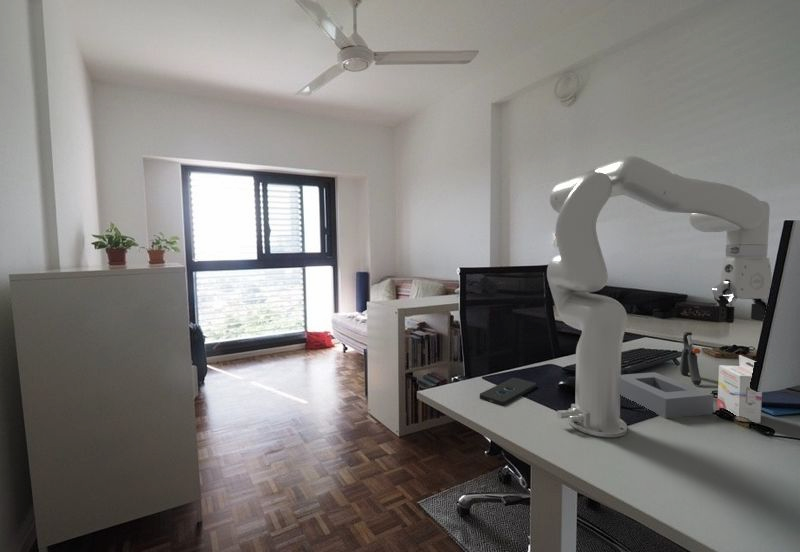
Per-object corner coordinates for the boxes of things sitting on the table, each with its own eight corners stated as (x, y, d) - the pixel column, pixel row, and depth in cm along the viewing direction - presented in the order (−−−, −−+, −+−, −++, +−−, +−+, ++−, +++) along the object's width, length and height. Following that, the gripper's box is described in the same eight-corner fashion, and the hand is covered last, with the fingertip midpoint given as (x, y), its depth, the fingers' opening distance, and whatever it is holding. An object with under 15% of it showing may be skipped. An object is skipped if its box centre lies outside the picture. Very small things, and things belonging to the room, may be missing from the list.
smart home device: (478, 393, 108) (513, 376, 121) (478, 399, 108) (513, 381, 122) (503, 401, 102) (537, 382, 115) (503, 407, 102) (537, 388, 116)
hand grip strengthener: (693, 386, 114) (695, 338, 113) (679, 373, 126) (680, 329, 125) (702, 387, 113) (704, 338, 112) (687, 374, 125) (688, 330, 124)
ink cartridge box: (715, 407, 99) (717, 353, 98) (737, 409, 98) (739, 354, 97) (737, 422, 90) (740, 363, 89) (761, 424, 89) (764, 364, 88)
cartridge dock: (665, 418, 93) (665, 399, 92) (613, 391, 111) (613, 375, 110) (712, 413, 95) (713, 394, 95) (654, 388, 113) (654, 372, 112)
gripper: (732, 252, 86) (728, 325, 87) (793, 251, 89) (788, 322, 90) (701, 252, 94) (698, 319, 95) (758, 251, 96) (754, 317, 97)
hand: (742, 321), depth 92 cm, fingers open, 9 cm apart
